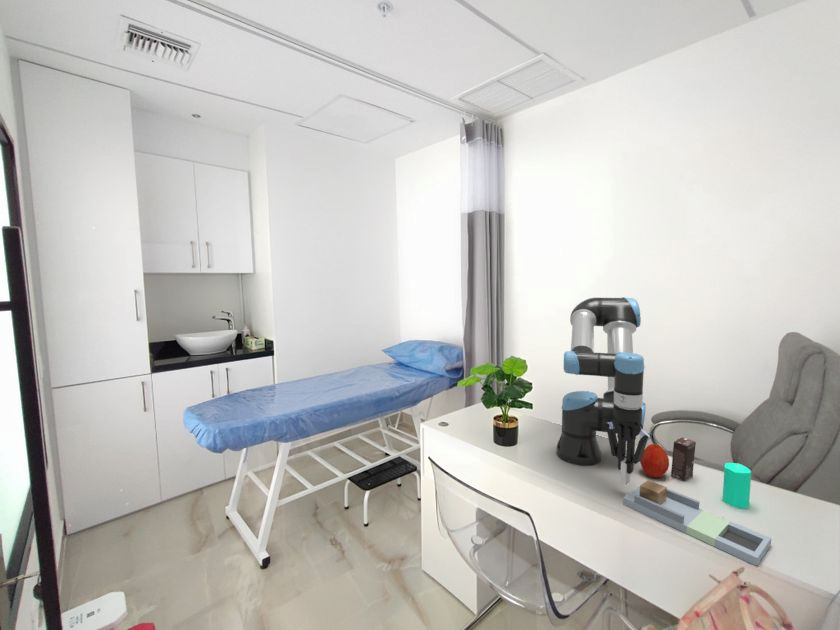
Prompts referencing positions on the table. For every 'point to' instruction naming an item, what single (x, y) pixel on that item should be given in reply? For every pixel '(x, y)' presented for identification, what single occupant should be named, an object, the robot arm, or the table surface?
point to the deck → (703, 525)
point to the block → (653, 492)
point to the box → (683, 459)
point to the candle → (736, 485)
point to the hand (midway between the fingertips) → (625, 481)
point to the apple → (654, 461)
